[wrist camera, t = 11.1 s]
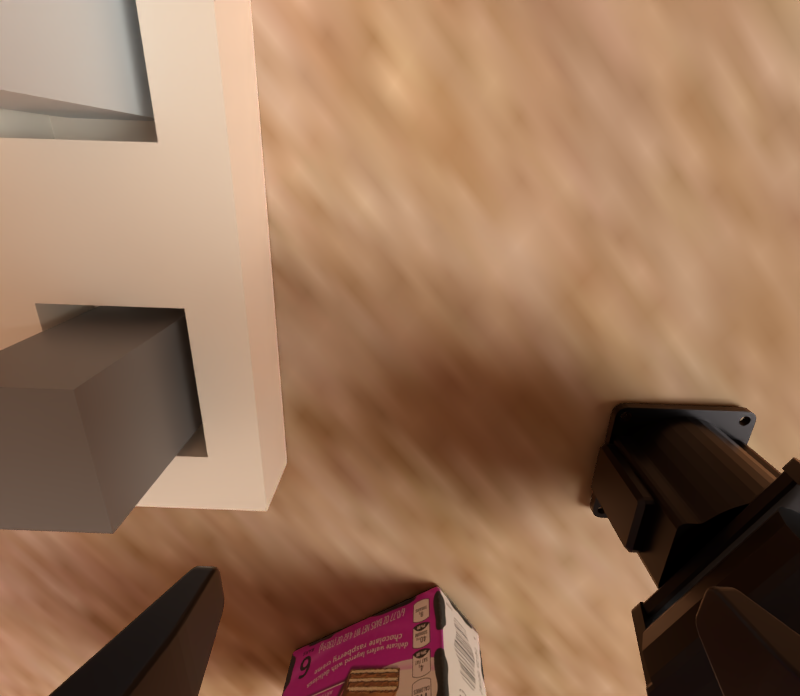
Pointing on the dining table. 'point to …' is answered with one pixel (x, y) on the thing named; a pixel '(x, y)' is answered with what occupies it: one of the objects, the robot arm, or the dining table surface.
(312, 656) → the candy bar box
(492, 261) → the dining table surface
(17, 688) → the dining table surface
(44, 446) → the twin plug
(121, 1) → the plug
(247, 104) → the power strip
